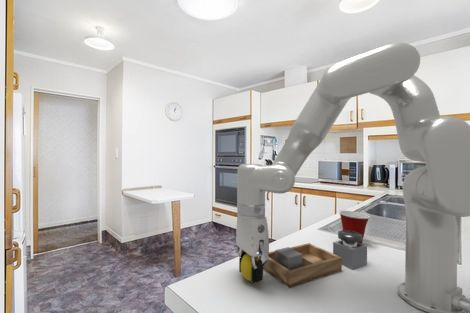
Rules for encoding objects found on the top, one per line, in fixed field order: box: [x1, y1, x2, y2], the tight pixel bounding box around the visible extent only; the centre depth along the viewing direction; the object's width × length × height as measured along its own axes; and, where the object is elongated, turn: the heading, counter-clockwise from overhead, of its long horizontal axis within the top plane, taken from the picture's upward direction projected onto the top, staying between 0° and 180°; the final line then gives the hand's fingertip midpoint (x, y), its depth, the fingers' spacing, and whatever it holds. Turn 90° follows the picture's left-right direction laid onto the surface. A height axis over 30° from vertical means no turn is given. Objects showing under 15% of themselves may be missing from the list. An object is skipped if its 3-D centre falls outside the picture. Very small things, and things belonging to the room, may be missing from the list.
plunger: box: [337, 229, 362, 248], centre depth 77 cm, size 7×7×8 cm
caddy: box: [263, 242, 343, 289], centre depth 73 cm, size 13×20×6 cm, turn 118°
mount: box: [332, 239, 368, 270], centre depth 77 cm, size 7×7×6 cm
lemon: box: [240, 253, 259, 283], centre depth 66 cm, size 6×6×8 cm
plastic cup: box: [338, 210, 371, 244], centre depth 94 cm, size 11×11×12 cm
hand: (250, 275), depth 66 cm, fingers closed on lemon, 5 cm apart
